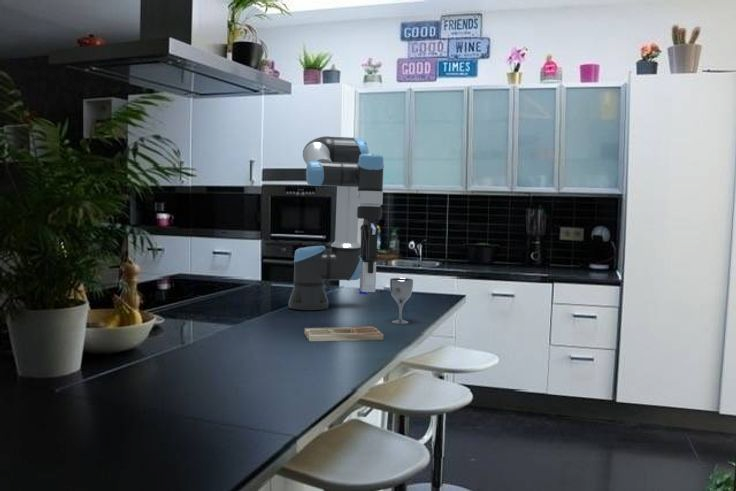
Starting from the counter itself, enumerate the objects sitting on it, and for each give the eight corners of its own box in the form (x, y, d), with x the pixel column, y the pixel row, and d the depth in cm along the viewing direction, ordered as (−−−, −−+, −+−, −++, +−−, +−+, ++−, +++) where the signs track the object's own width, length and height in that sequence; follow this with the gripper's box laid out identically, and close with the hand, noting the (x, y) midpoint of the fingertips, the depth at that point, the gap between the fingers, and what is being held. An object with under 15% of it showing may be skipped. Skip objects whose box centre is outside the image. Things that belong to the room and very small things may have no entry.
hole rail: (304, 333, 191) (304, 327, 191) (374, 332, 196) (374, 326, 196) (309, 341, 180) (309, 335, 180) (383, 340, 184) (383, 333, 184)
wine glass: (414, 321, 217) (415, 278, 216) (408, 325, 210) (409, 281, 209) (392, 319, 220) (393, 277, 219) (385, 323, 212) (387, 279, 211)
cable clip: (359, 294, 283) (359, 281, 283) (369, 295, 283) (369, 282, 283) (355, 298, 272) (356, 284, 271) (366, 299, 271) (366, 285, 271)
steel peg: (359, 290, 190) (360, 260, 190) (372, 290, 191) (373, 261, 191) (362, 291, 186) (363, 261, 186) (375, 291, 187) (376, 262, 187)
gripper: (352, 205, 195) (350, 279, 196) (363, 205, 178) (361, 286, 179) (375, 206, 196) (373, 280, 198) (389, 206, 180) (386, 286, 181)
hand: (367, 282), depth 189 cm, fingers closed on steel peg, 4 cm apart
